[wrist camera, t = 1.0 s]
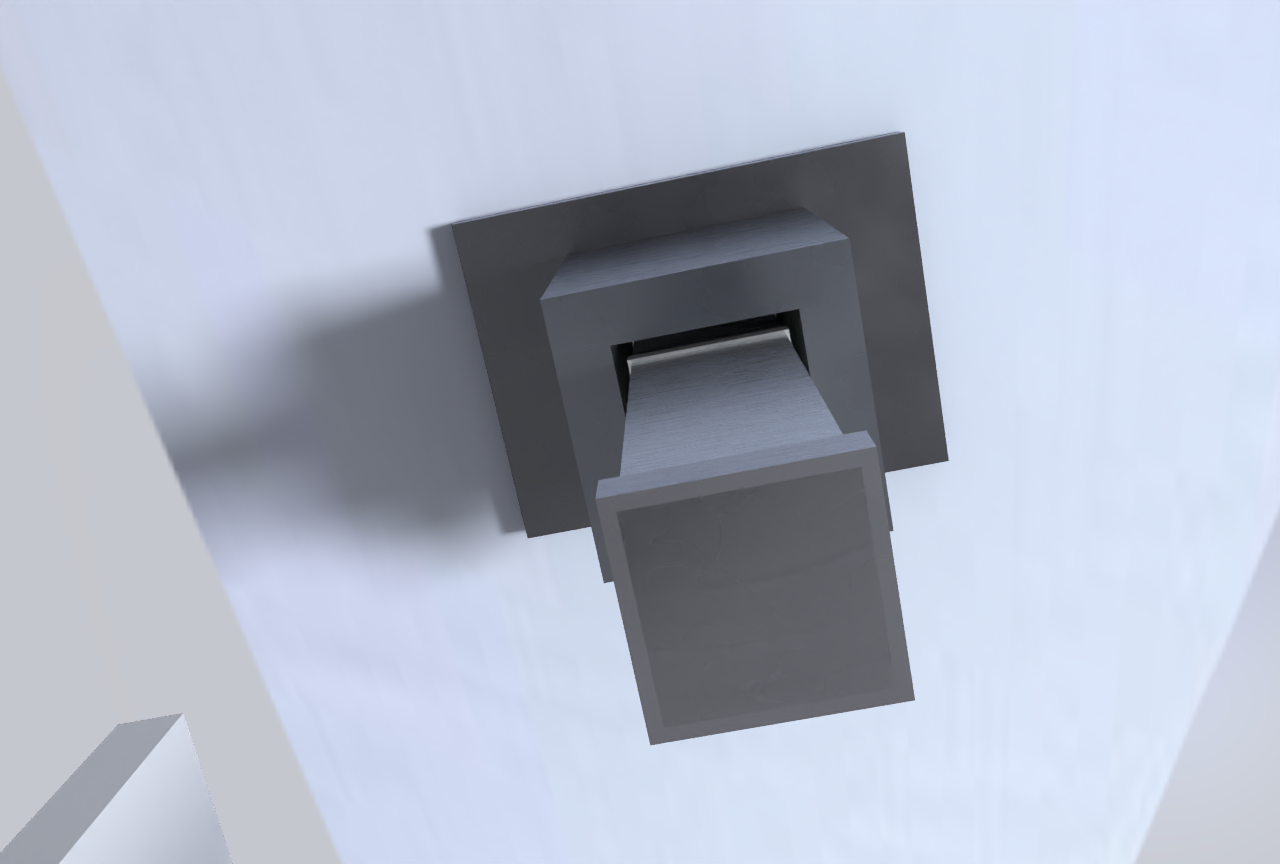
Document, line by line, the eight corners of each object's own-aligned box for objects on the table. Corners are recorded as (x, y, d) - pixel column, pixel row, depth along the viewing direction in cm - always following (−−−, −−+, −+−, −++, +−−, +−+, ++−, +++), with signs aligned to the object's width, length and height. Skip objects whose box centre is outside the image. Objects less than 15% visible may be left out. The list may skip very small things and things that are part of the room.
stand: (456, 221, 41) (384, 262, 30) (898, 131, 40) (987, 140, 29) (530, 528, 44) (489, 664, 34) (942, 452, 43) (1036, 567, 32)
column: (627, 294, 41) (595, 498, 19) (761, 268, 40) (876, 446, 19) (653, 422, 42) (650, 744, 21) (783, 397, 41) (914, 700, 20)
